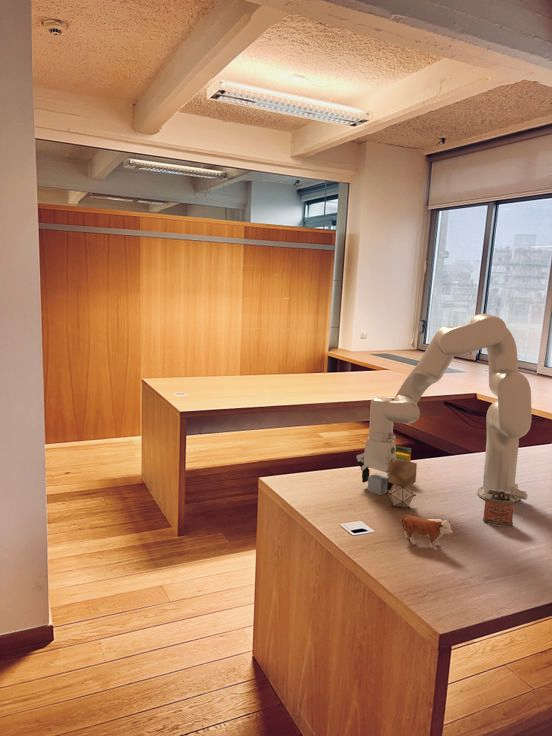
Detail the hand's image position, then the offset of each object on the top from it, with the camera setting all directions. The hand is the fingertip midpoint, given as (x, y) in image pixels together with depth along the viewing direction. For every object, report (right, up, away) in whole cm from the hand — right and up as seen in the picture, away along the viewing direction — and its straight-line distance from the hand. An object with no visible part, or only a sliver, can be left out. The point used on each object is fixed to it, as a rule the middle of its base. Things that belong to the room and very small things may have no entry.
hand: (377, 485), depth 181 cm
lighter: (+30, -6, -23) cm, 38 cm away
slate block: (0, -2, 0) cm, 2 cm away
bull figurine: (+6, -8, -37) cm, 38 cm away
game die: (+5, -4, -12) cm, 14 cm away
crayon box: (+9, 0, +11) cm, 14 cm away
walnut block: (+5, +4, -13) cm, 15 cm away
